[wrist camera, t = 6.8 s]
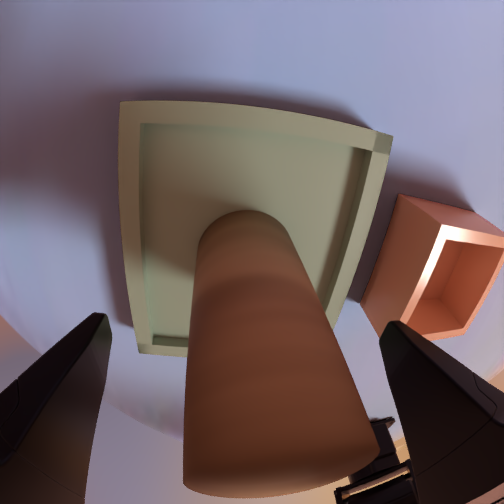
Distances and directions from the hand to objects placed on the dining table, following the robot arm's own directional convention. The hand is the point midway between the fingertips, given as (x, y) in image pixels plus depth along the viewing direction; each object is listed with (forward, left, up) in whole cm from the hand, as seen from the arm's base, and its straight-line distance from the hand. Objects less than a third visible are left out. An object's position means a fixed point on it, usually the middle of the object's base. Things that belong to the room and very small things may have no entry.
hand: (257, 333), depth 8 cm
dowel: (0, 0, -4) cm, 5 cm away
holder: (0, -10, -6) cm, 12 cm away
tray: (0, 0, -6) cm, 6 cm away
